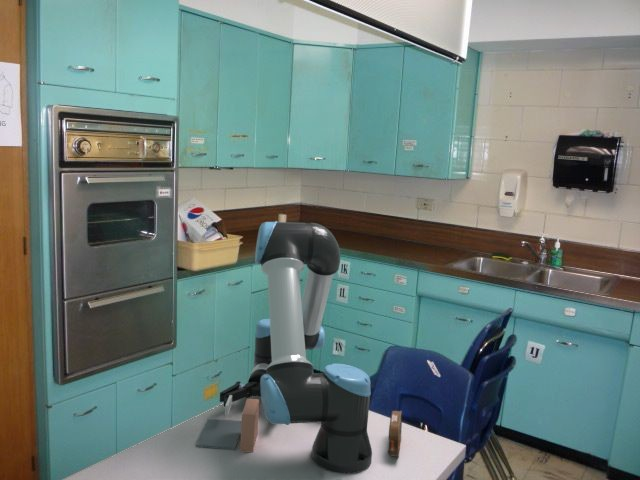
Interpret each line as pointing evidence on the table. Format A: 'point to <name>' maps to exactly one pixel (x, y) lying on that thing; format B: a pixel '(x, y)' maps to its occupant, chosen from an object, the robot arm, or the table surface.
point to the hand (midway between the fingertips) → (251, 412)
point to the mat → (220, 434)
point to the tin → (395, 433)
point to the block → (249, 425)
